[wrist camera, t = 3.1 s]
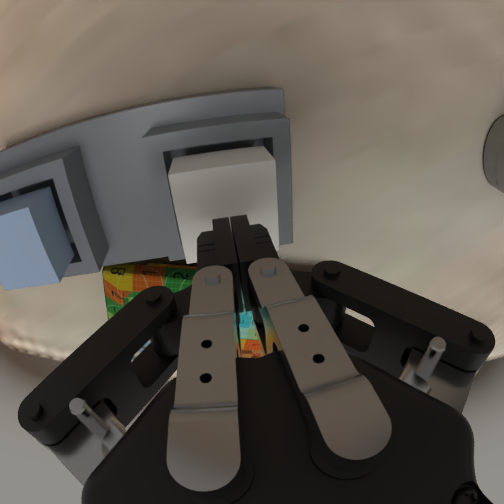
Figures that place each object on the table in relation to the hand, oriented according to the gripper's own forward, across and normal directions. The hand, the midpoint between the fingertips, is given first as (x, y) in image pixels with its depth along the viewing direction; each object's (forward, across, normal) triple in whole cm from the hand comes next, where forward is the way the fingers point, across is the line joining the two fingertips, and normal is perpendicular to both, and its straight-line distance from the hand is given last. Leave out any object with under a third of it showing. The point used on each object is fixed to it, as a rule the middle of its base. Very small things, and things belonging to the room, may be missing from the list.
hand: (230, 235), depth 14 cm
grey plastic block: (+11, +6, 0) cm, 13 cm away
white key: (+5, 0, 0) cm, 5 cm away
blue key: (+5, +13, 0) cm, 14 cm away
